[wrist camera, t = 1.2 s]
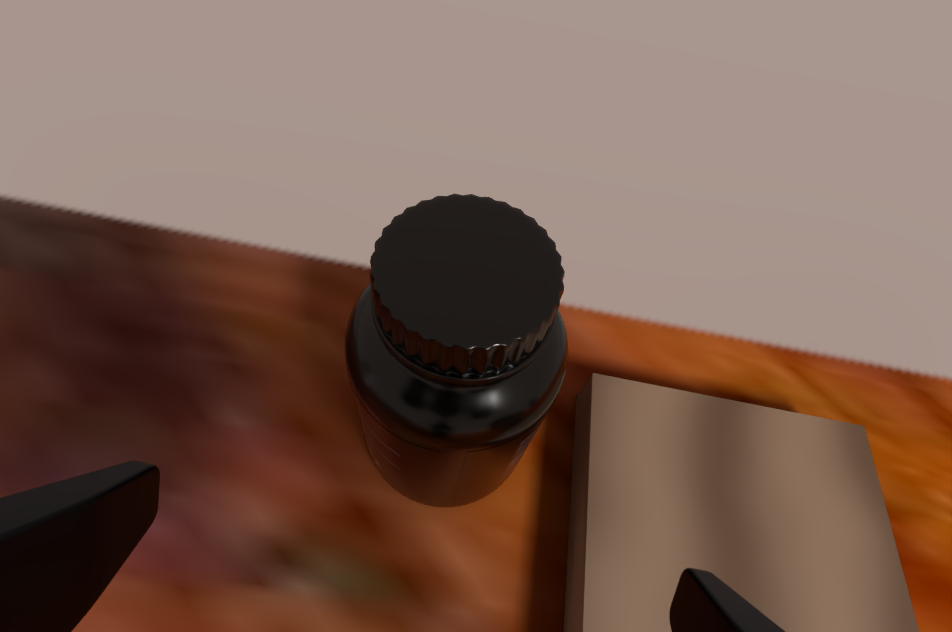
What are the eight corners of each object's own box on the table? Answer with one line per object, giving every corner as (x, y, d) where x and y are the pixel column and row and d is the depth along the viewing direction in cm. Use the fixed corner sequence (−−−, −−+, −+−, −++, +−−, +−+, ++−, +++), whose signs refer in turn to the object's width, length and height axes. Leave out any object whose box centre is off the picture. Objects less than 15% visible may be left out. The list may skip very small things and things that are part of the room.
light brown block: (824, 443, 24) (864, 426, 22) (896, 777, 18) (962, 796, 16) (576, 395, 24) (592, 372, 22) (558, 713, 18) (579, 724, 15)
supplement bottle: (473, 338, 25) (518, 138, 15) (550, 461, 22) (670, 318, 12) (339, 398, 23) (285, 207, 13) (406, 544, 20) (407, 452, 10)
